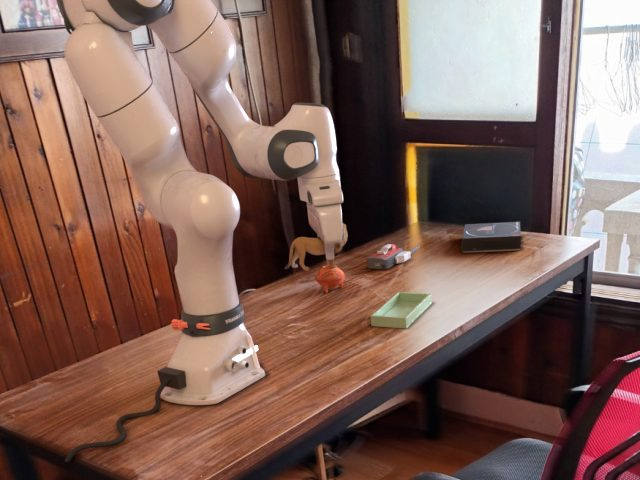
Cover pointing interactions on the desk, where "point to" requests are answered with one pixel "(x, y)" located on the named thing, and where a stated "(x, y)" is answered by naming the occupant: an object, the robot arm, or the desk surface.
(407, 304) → the tray
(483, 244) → the portable cd player
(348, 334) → the desk surface
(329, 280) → the pot
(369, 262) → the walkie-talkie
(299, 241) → the lion figurine
